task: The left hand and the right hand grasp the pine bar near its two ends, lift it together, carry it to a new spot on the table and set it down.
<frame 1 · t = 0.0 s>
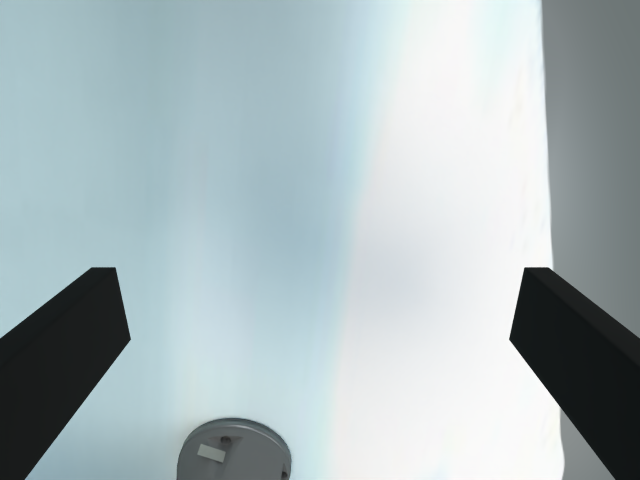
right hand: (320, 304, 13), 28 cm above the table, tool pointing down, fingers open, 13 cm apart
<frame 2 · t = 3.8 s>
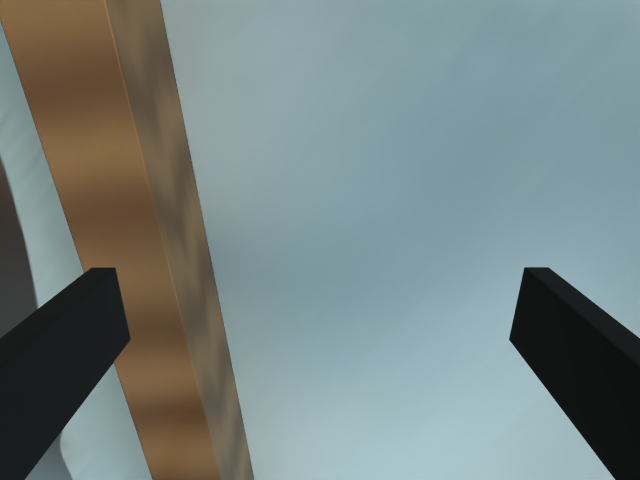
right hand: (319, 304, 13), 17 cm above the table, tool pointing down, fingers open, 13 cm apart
bar: (182, 280, 32), on the table
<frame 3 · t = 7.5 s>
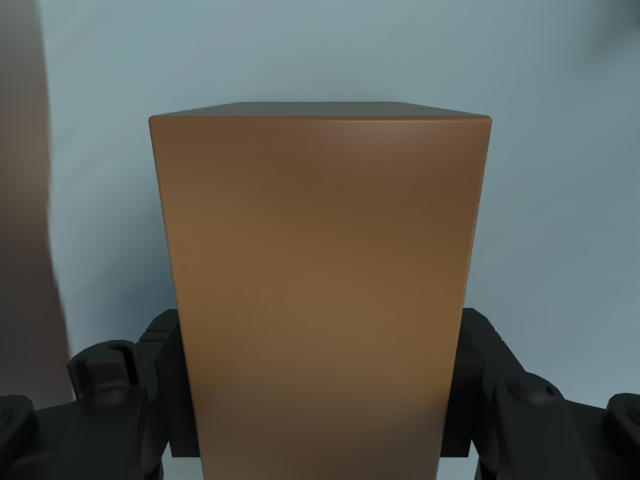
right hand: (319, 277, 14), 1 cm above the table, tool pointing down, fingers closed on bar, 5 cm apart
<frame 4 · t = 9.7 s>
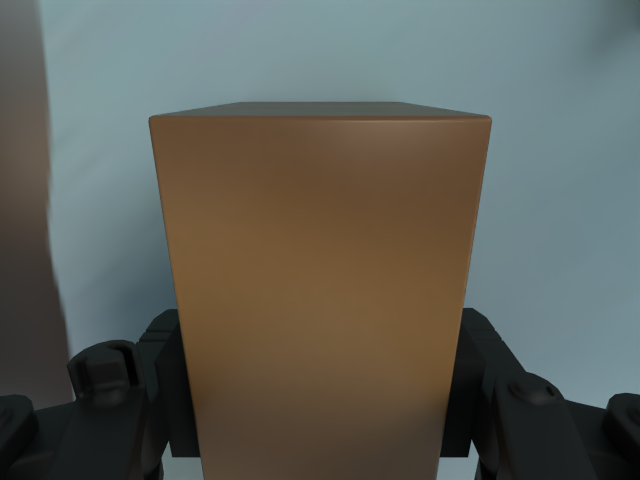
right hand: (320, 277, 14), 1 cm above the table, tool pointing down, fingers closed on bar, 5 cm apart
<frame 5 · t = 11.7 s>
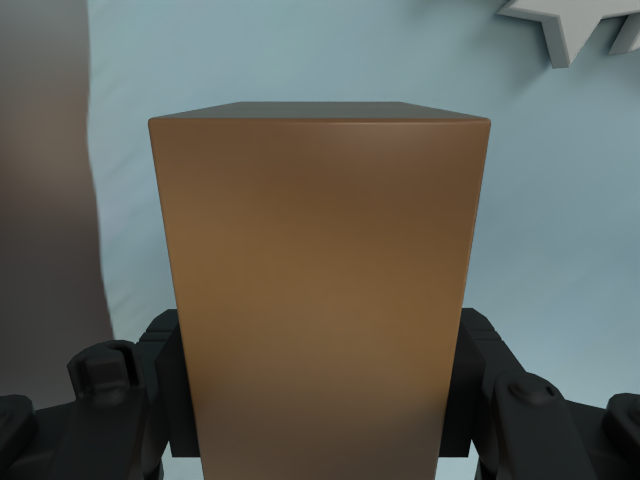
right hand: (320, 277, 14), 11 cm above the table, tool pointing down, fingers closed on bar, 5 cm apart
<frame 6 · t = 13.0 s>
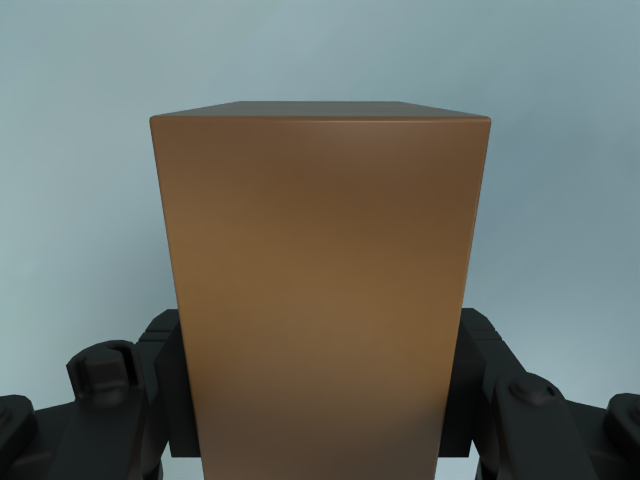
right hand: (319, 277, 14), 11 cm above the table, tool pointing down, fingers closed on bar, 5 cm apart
when the left hand's fingers open (2 cm above the table, at t = 16.3 s): bar drops 1 cm, on the table.
when the right hand's fingers open (2 cm above the table, at t = 16.3 s): bar drops 1 cm, on the table.
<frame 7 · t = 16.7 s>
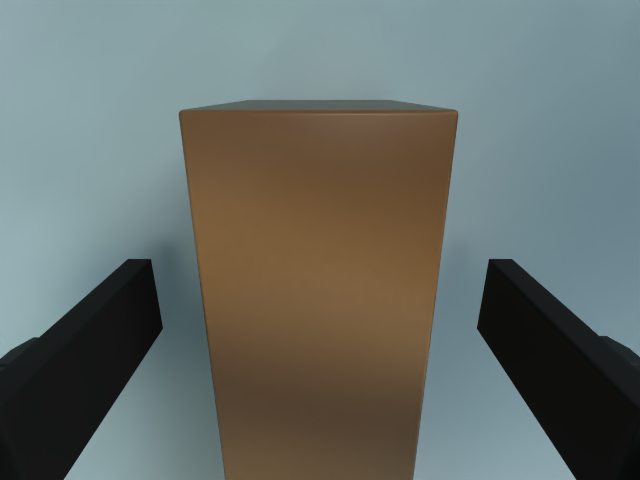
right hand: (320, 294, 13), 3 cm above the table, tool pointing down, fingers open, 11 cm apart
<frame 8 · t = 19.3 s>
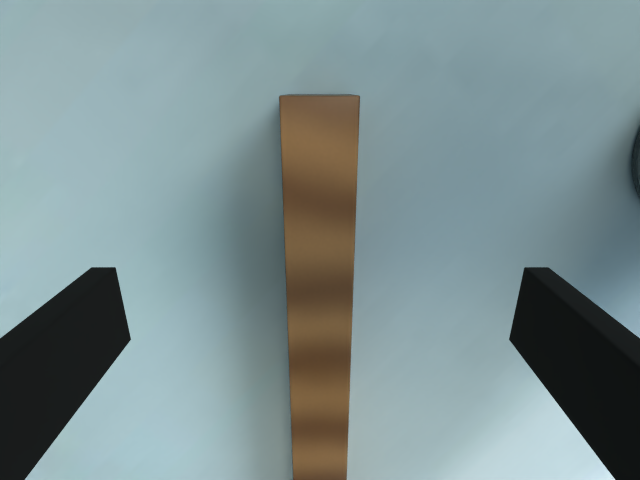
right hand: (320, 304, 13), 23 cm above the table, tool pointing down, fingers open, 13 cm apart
bar: (319, 376, 43), on the table
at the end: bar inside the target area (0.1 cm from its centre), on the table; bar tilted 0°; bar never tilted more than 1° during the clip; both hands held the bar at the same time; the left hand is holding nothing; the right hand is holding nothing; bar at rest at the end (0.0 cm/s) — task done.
